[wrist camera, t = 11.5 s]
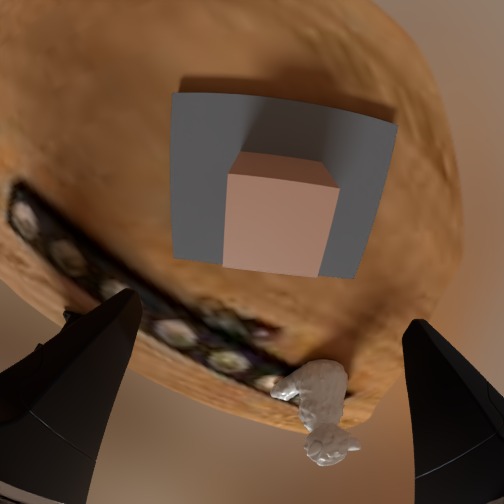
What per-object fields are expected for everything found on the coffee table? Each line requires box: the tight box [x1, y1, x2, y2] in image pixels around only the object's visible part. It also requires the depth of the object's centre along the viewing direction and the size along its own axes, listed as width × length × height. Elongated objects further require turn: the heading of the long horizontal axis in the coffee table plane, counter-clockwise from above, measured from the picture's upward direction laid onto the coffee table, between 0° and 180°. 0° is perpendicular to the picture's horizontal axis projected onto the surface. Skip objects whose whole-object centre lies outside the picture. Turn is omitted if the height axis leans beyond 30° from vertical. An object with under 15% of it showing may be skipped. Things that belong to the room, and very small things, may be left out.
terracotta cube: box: [223, 151, 340, 278], centre depth 15 cm, size 5×5×5 cm
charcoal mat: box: [170, 93, 398, 279], centre depth 18 cm, size 12×14×1 cm
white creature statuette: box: [270, 359, 361, 466], centre depth 24 cm, size 10×9×12 cm
